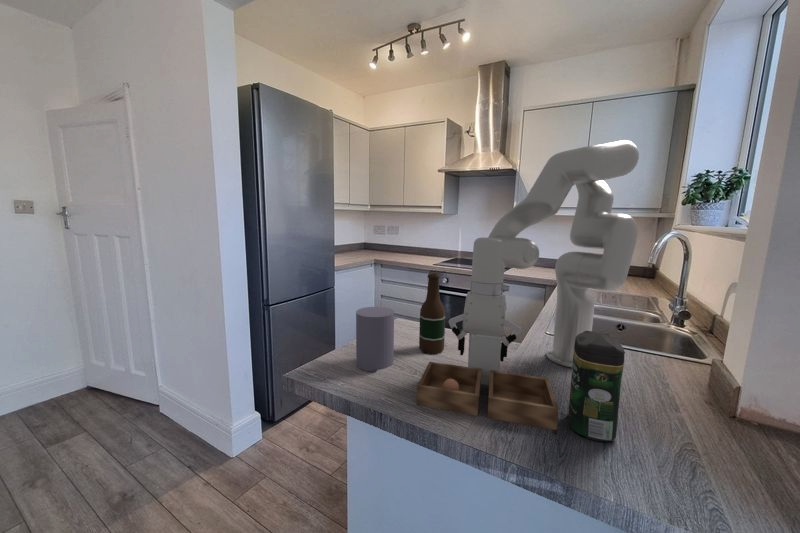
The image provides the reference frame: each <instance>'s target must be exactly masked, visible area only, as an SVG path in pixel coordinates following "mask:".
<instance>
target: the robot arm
mask: <svg viewBox="0 0 800 533" xmlns="http://www.w3.org/2000/svg"><path fill="white" fill-rule="evenodd" d="M639 152H640V151H639V149H638V147H637V145H636V144H635V143H634V142H632V141H631V140H627V139H622V140H617V141H612V142H607V143H601V144H594V145H586V146H582V147H578V148H574V149H569V150H564V151H560V152H557V153H555V154H553V155H552V156H551V157H550V158H549V159H547V161H546V162H545V164H544V166H543V168H542V170H541V172H540V173H539V175H538V176H537V178H536V180H535V182H534V183H533V185H532V187H531V189H530V190H529V192H528V193H527V196H525V198H524V199H523V200H521V201H520V202H518V203H517V204H516V205H515V206H513V207H512V208H511V209H510V210H509V211H508V212H506V213H505V214H504V215H503V216H502V217H501V218H500V219H499V220H498V221H497V222H496V224H495V225H494V227H493V228H492V230H491V232H490V233H489V235H488V237H484V236H483V237H477V238H476V239H475V240H474V242H473V249H472V261H471V262H472V265H471V280H470V291H467V293H466V297H465V301H464V302H465V303H464V310H463V313H462V314H460V315H457V316H454V317H452V318H451V317H450V318H449V319H448V321H447V322H448V324H449V327H450V329H451V331H452V333H453V334H454V335H455V336H456V338H457V339H458V342H457V351H460V352H459V356H463V355H464V354H465V346H466V345H465V344H466V337H465V336H467V334H469V333H470V334H481V335H489V336H498V337H501V354H500V362H504V359H505V358H508V349H509V348H508V346H510V344H511V343H513V342H515V340H517V337H519V335H520V334H521V332H522V327H521V326H520V325H517V324H516V323H514V322H512V321H511V320H509V319H508V318H507V299H506V295H505V294H504V293H506V292H510V285H506V284H505V283H504V280H505V279H504V278H505V268H511V269H517V270H525V269H528V268H531V267H533V266H534V265H535V264H536V263H537V262H538V260H539V257H540V249H539V247H538V245H537V244H536V243H535V242H534V241H532V240H531V239H529V238H524V237H517V236H518V235H519V234H521V233H522V231H524V230H526V229H527V228H529V227H531V226H534V225H536V224H539V223H541V222H544V221H546V220H548V219H550V218H552V217H553V216H555V215H556V214H557V213H559V212H558V211H560V209H561V207H562V205H563V203H564V202H565V200H566V198H567V196H568V195H569V192H570V191H571V190H572V188H573V186H575V187H576V190H577V194H578V195H577V196H578V200H577V204H576V209H575V211H574V217H573V220H572V225H571V229H570V234H569V238H570V239H569V240H570V242H571V243H572V244H573V245H574V246H576V247H579V248H583V249H592V250H593V249H594V250H603V252H602V253H593V252H585V251H568V252H565V253H563V254H562V255H560V256H559V257H558V258H557V260H556V262H555V270H554V272H555V279H556V303H555V304H556V306H555V316H554V317H555V318H554V329H553V339H552V340H553V343H552V348H549V349H547V350H546V357H547V359H548V360H550V361H552V362H553V363H556V364H557V365H561V366H564V367H567V368H572V364H573V354H574V345H575V339H576V336H577V335H578V334H580V333H583V332H584V331H593V325H594V322H593V321H594V315H595V314H594V313H595V299H594V296H593V293H592V291H591V289H592V290H597V291H602V292H607V293H609V292H610V293H611V292H613V293H614V292H617V291H619V290H620V289H622V287H623V286H624V284H625V282H626V280H627V277H628V274H629V271H630V267H631V263H632V260H633V255H634V252H635V247H636V245H637V239H638V235H639V233H638V225H637V222H636V220H635V219H634V217H632V216H631V215H629V214H625V213H618V212H617V213H612V208H613V204H614V194H613V191H612V189H611V187H610V186H609V185H608V183H607V182H606V181H607V180H610V179H614V178H615V179H616V178H619V177H623V176H626V175H628V174H629V173H631V172H632V171H634V169H635V168H636V167H637V165H638V163H639V158H640V153H639ZM461 321H462V329H460V328H459V327H458V326H457V325H456V324H457V323H459V322H461ZM506 327H507V328H510V329H511V330H512V333H510V334H509V335H506Z"/></svg>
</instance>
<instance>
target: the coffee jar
mask: <svg viewBox="0 0 800 533" xmlns="http://www.w3.org/2000/svg"><path fill="white" fill-rule="evenodd" d="M625 353H626V352H625V349H624V348H623V346H622V344H621V343H620V342H619V341H618V340H617V339H616V338H614V337H612V336H611V335H610V334H609V333H607V332H601V331H594V330H592V331H584V332H583V333H580V334H578V335H577V336H576V339H575V345H574V354H573V364H572V367H571V378H570V390H569V391H570V392H569V403H568V404H569V405H568V421H569V423H570V424H569V425H570V427H571V429H572V430H573V432H575V433H577V434H578V435H581V436H583V437H585V438H586V439H589V440H592V441H596V442H613V441H615V440H616V437H617V430H618V422H619V421H618V420H619V408H620V399H621V388H622V381H623V380H622V379H623V372H624V366H625Z"/></svg>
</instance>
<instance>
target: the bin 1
mask: <svg viewBox="0 0 800 533" xmlns="http://www.w3.org/2000/svg"><path fill="white" fill-rule="evenodd" d="M481 372H482V369H478V368H470V367H468V366H464V365H463V366H462V365H455V364H448V363H440V362H433V361H429V362H428V363H427V366H426V368H425V369H424V371H423V373H422V375H421V378H420V380H419V381H418V383H417V385H416V405H417V406H421V407H425V408H430V409H431V408H433V409H438V410H443V411H449V412H453V413H460V414H464V415H465V414H466V415H470V416H475V417H477V416H479V406H480V405H479V404H480V397H481V396H480V395H481V386H482V384H481ZM447 379H454V380H456V381H457V383H458V385H459V391H456V390H450V389H444V388H443V383H444V382H445V381H446V380H447Z"/></svg>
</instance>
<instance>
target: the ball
mask: <svg viewBox="0 0 800 533" xmlns="http://www.w3.org/2000/svg"><path fill="white" fill-rule="evenodd" d="M443 388H444V389H450V390H456V391H459V385H458V383H457V381H456V380H454V379H447V380H446V381H445V382H444V383H443Z"/></svg>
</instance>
